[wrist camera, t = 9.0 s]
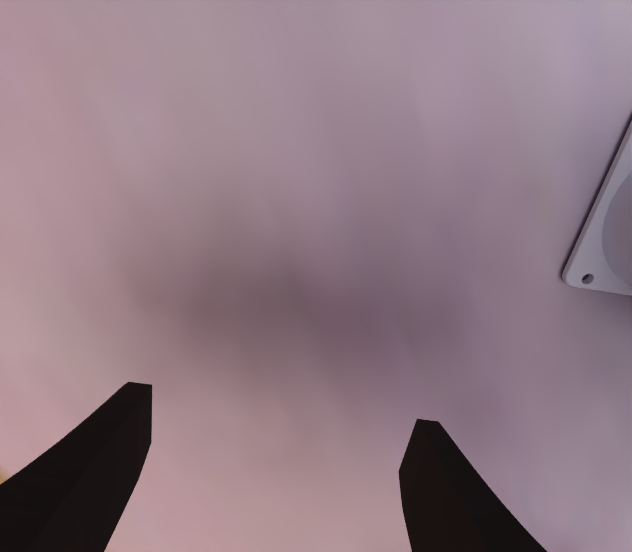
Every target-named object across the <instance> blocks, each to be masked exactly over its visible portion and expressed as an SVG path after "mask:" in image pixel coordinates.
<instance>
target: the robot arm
mask: <svg viewBox="0 0 632 552" xmlns="http://www.w3.org/2000/svg"><path fill="white" fill-rule="evenodd" d="M586 274H589V275H588V277H587V278H586V279H585V280H582V278H583V276H584V275H586ZM562 278H563V281H564V282H565V283H566V284H568V285H569V286H572V287H577V288H584V289H590V290H597V291H603V292H609V293H616V294H622V295H628V296H632V121H631V123H630V125H629V128H628V130H627V132H626V134H625V137H624V139H623V141H622V143H621V145H620V148H619V150H618V152H617V154H616V156H615V159H614V161H613V163H612V165H611V167H610V170H609V172H608V174H607V176H606V178H605V181H604V183H603V185H602V187H601V190H600V192H599V194H598V196H597V198H596V201H595V203H594V205H593V207H592V209H591V212H590V214H589V216H588V218H587V220H586V223H585V225H584V227H583V229H582V231H581V234H580V236H579V238H578V240H577V243H576V245H575V247H574V249H573V251H572V254H571V256H570V258H569V260H568V262H567V265H566V267H565V269H564V271H563V274H562ZM151 429H152V385H149V384H141V383H134V382H128V383H126V384H125V385H123V386H122V387H121V388H120V389H119V390H118V391H117V392H116V393H115V394H114V395H112V396H111V397H110V398H109V399H108V400H107V401H106V402H105V403H104V404H102V405H101V406H100V407H99V408H98V409H97V410H96V411H94V412H93V413H92V414H91V415H90V416H89V417H88V418H86V419H85V420H84V421H83V422H82V423H80V424H79V425H78V426H77V427H76V428H74V429H73V430H72V431H71V432H70V433H68V434H67V435H66V436H65V437H64V438H62V439H61V440H60V441H59V442H57V443H56V444H55V445H54V446H52V447H51V448H50V449H48V450H47V451H46V452H44V453H43V454H42V455H40V456H39V457H38V458H36V459H35V460H34V461H33V462H31V463H30V464H29V465H27V466H26V467H25V468H23V469H22V470H20V471H19V472H18V473H16V474H15V475H13V476H12V477H10V478H9V479H8V480H6V481H5V482H3V483H2V484H0V552H104V551H105V549H106V547H107V544H108V542H109V540H110V538H111V536H112V534H113V532H114V530H115V528H116V526H117V524H118V522H119V519H120V517H121V515H122V513H123V511H124V509H125V507H126V505H127V503H128V501H129V498H130V496H131V494H132V492H133V490H134V488H135V486H136V484H137V481H138V479H139V476H140V473H141V471H142V468H143V465H144V462H145V459H146V456H147V453H148V450H149V447H150V445H151ZM399 480H400V491H401V500H402V508H403V513H404V518H405V523H406V527H407V531H408V536H409V540H410V545H411V549H412V552H547V551H546V550H545V549H544V548H543V547H542V546H541V545H540V544H539V543H538V542H537V541H536V540H535V539H534V538H533V537H532V536H531V535H530V533H529V532H528V531H527V530H526V529H525V528H524V527H523V526H522V525H521V524H520V523H519V521H518V520H517V519H516V518H515V517H514V516H513V515H512V514H511V512H510V511H509V510H508V509H507V508H506V507H505V506H504V504H503V503H502V502H501V501H500V500H499V499H498V497H497V496H496V495H495V494H494V493H493V491H492V490H491V489H490V488H489V486H488V485H487V484H486V483H485V482H484V480H483V479H482V478H481V476H480V475H479V474H478V473H477V471H476V470H475V469H474V468H473V466H472V465H471V464H470V462H469V461H468V460H467V458H466V457H465V456H464V455H463V453H462V452H461V451H460V449H459V448H458V447H457V445H456V444H455V443H454V441H453V440H452V439H451V437H450V436H449V435H448V433H447V432H446V431H445V429H444V428H443V427H442V426H441V424H440V423H439V422H437V421H429V420H422V419H417V421H416V423H415V426H414V429H413V432H412V435H411V438H410V441H409V443H408V446H407V449H406V452H405V455H404V458H403V460H402V463H401V466H400V469H399Z"/></svg>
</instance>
